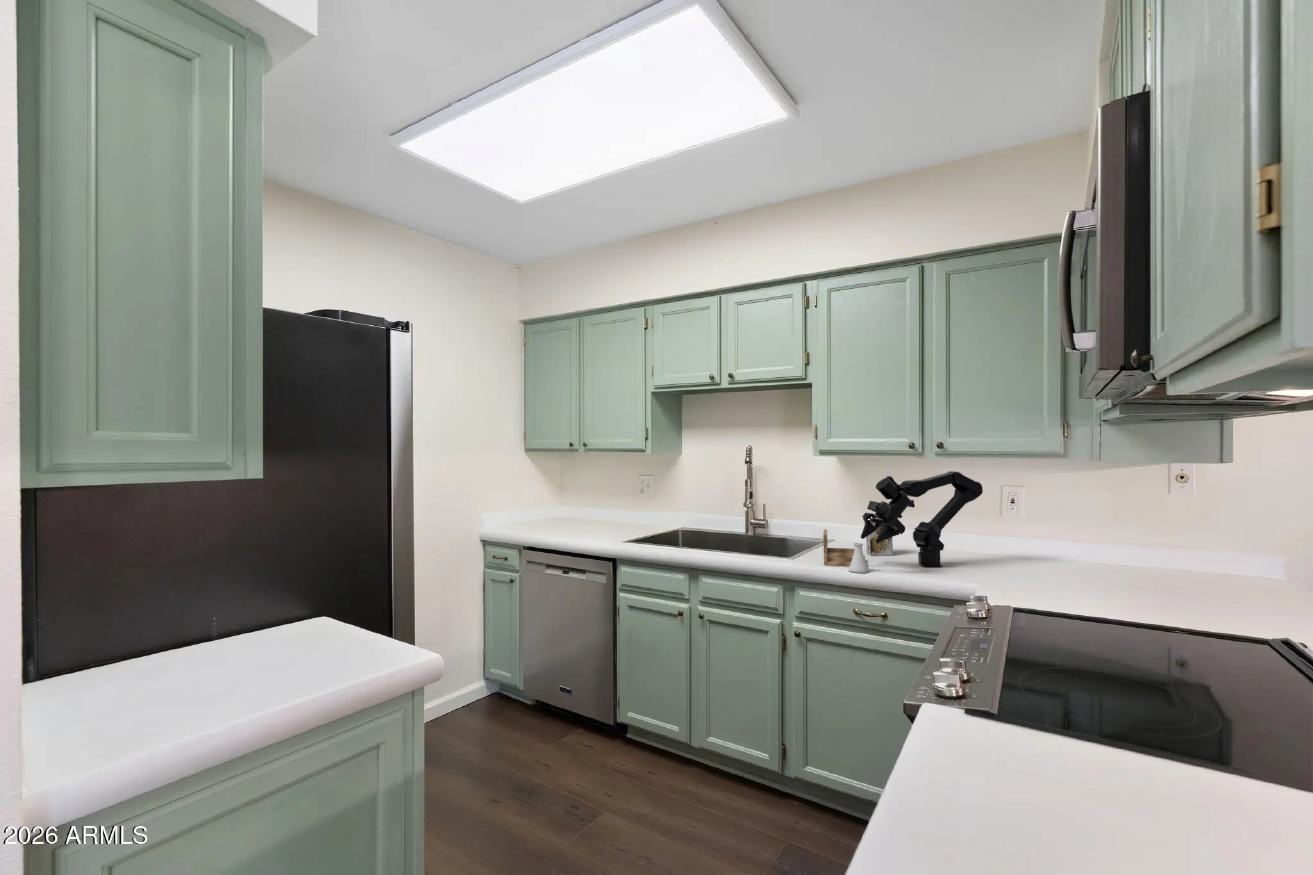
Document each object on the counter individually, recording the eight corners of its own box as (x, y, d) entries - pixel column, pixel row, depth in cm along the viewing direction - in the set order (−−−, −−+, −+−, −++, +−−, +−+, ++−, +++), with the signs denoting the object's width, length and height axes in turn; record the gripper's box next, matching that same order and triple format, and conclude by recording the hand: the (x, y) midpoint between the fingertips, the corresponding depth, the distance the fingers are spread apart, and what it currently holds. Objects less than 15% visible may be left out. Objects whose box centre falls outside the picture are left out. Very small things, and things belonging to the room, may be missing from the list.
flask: (851, 568, 219) (851, 541, 219) (872, 570, 215) (871, 542, 215) (845, 572, 213) (844, 544, 213) (866, 574, 209) (865, 545, 209)
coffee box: (888, 552, 246) (887, 513, 246) (893, 555, 240) (892, 515, 240) (865, 552, 247) (864, 513, 247) (869, 555, 241) (868, 515, 241)
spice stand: (864, 559, 234) (863, 530, 234) (866, 567, 220) (865, 535, 220) (824, 558, 238) (823, 529, 238) (824, 565, 224) (823, 534, 224)
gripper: (866, 491, 225) (840, 521, 223) (897, 495, 207) (869, 528, 204) (885, 511, 227) (859, 541, 224) (917, 517, 209) (890, 550, 206)
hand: (868, 540), depth 215 cm, fingers open, 9 cm apart
